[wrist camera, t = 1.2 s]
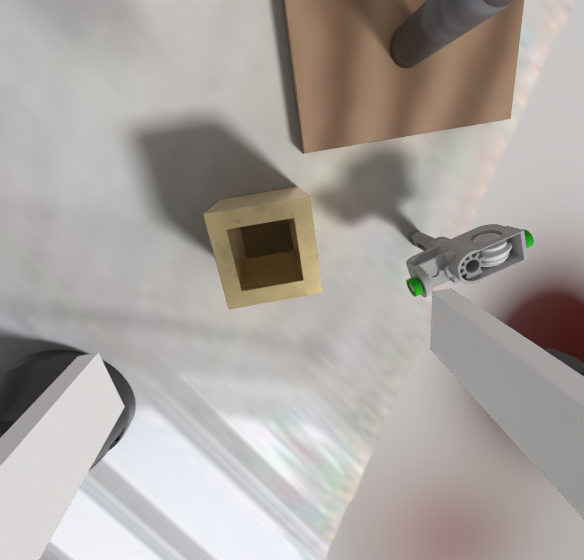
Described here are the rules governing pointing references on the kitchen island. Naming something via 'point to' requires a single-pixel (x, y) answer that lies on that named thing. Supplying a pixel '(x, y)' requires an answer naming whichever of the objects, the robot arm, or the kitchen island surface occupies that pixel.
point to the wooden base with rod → (399, 66)
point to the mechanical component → (465, 256)
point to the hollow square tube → (268, 268)
